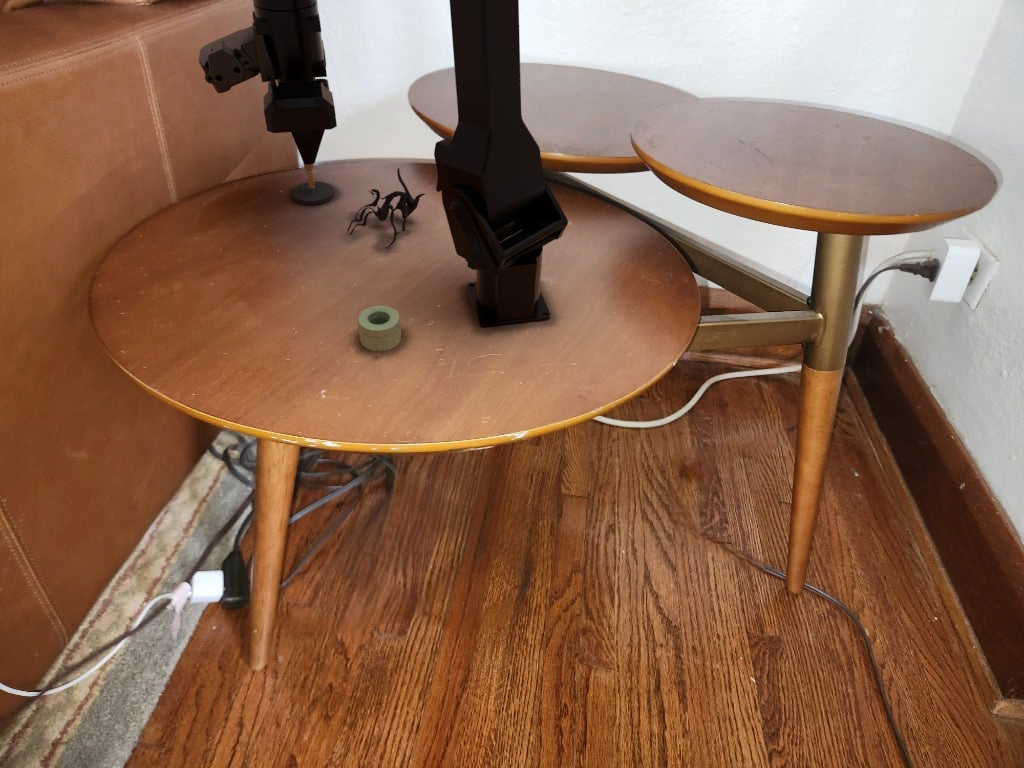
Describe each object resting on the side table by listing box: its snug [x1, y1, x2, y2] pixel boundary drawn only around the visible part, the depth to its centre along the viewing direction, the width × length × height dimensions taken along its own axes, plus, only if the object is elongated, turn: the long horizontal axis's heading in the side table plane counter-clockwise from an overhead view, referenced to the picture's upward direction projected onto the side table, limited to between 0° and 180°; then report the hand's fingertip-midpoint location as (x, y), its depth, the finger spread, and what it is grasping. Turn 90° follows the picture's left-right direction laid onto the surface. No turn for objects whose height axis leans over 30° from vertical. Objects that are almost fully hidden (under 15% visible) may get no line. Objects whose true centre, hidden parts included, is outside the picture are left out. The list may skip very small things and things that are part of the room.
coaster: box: [292, 180, 336, 206], centre depth 85 cm, size 4×4×1 cm
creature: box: [346, 167, 427, 249], centre depth 78 cm, size 8×5×8 cm
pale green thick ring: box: [357, 304, 402, 352], centre depth 66 cm, size 3×4×2 cm
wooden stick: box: [303, 163, 315, 189], centre depth 81 cm, size 1×1×9 cm
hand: (309, 160), depth 82 cm, fingers closed on wooden stick, 1 cm apart
